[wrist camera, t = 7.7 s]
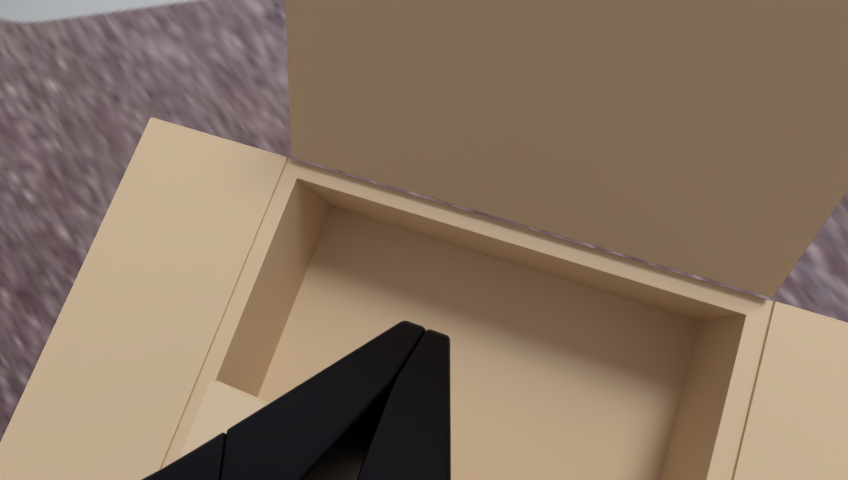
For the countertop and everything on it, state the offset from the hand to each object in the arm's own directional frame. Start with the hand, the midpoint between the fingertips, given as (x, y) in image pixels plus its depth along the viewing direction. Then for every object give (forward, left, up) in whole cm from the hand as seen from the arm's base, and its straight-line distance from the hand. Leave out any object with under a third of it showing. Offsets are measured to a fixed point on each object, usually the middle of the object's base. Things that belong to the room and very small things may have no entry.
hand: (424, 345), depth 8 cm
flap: (+7, -2, -4) cm, 8 cm away
